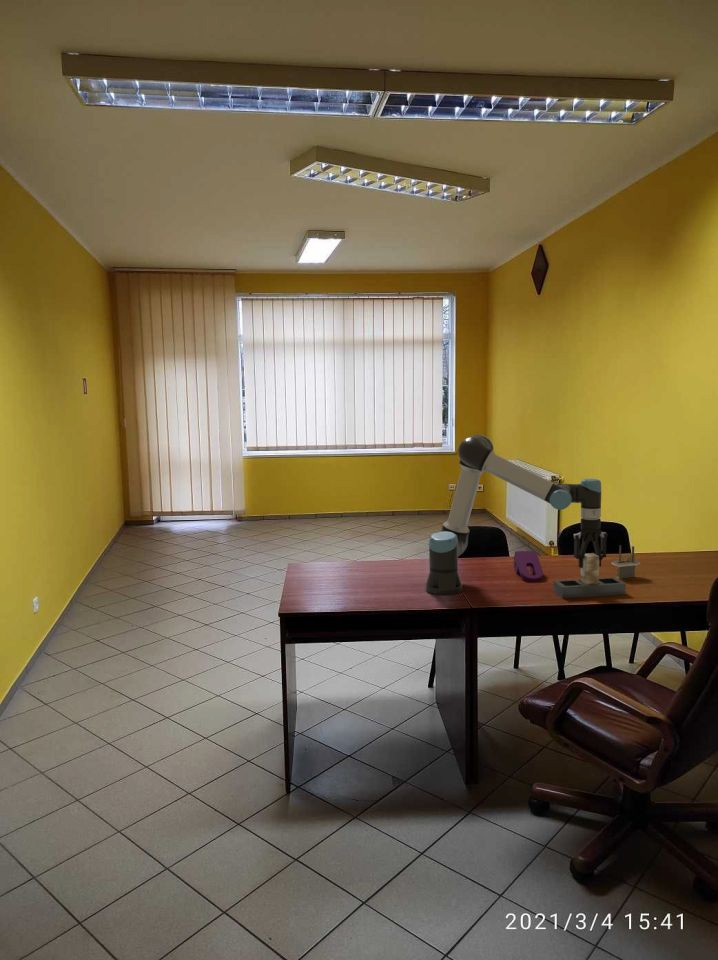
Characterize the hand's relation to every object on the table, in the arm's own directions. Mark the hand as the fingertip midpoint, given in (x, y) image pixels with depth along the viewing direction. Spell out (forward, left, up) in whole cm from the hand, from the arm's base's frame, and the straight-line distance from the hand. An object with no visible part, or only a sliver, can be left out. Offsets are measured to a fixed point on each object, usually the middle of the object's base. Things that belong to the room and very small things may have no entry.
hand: (589, 575), depth 265 cm
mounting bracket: (-15, +28, -8) cm, 33 cm away
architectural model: (+24, +18, -8) cm, 32 cm away
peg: (0, 0, -4) cm, 4 cm away
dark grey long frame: (0, 0, -7) cm, 7 cm away
